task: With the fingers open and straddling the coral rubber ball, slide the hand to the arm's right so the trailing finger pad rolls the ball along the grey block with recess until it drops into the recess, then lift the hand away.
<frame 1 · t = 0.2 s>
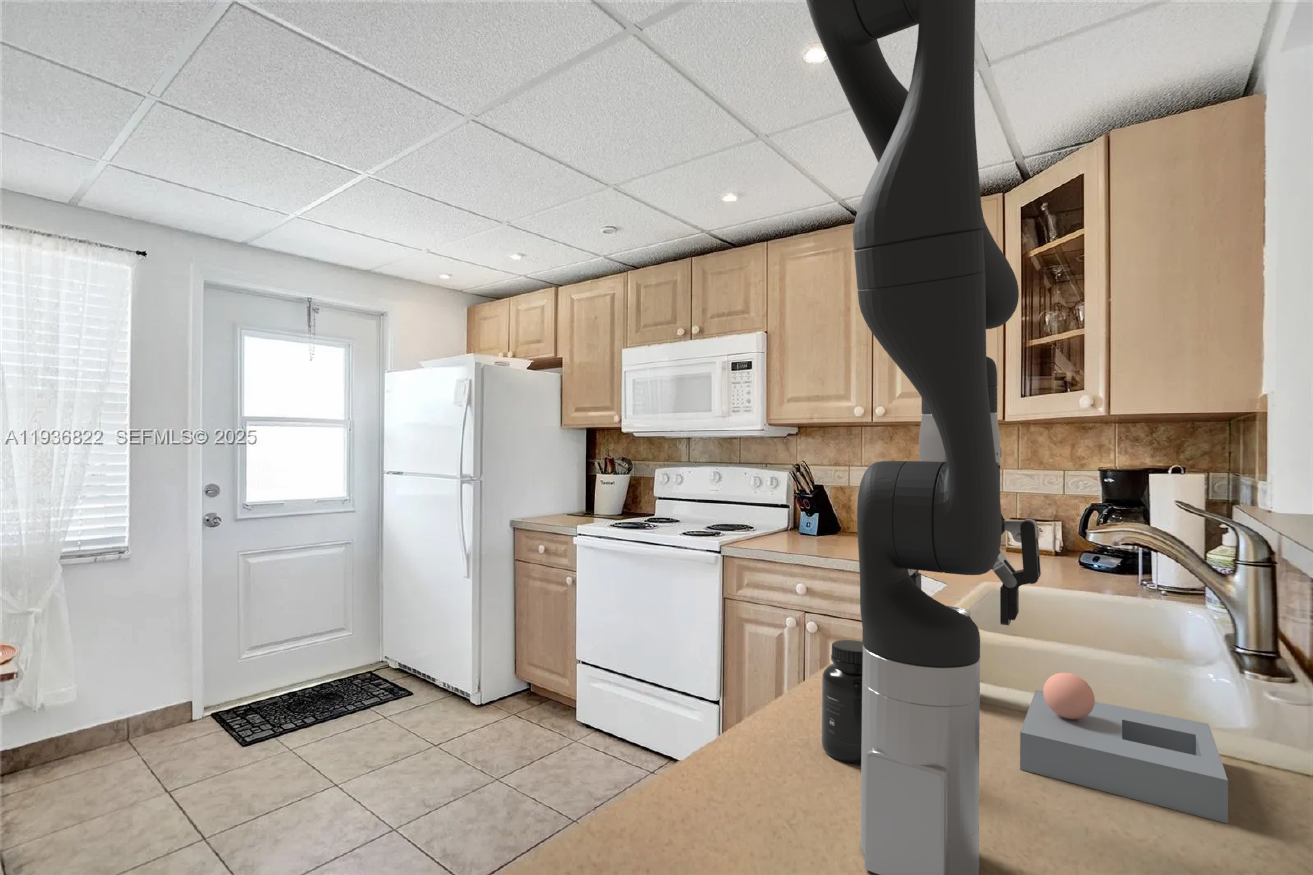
hand: (959, 616, 66), 17 cm above the table, tool pointing down, fingers open, 8 cm apart
soda can: (948, 696, 92), on the table
supplement bottle: (852, 753, 74), on the table
ball: (1068, 695, 75), point 6 cm above the table, touching grey block with recess
grey block with recess: (1116, 764, 72), on the table
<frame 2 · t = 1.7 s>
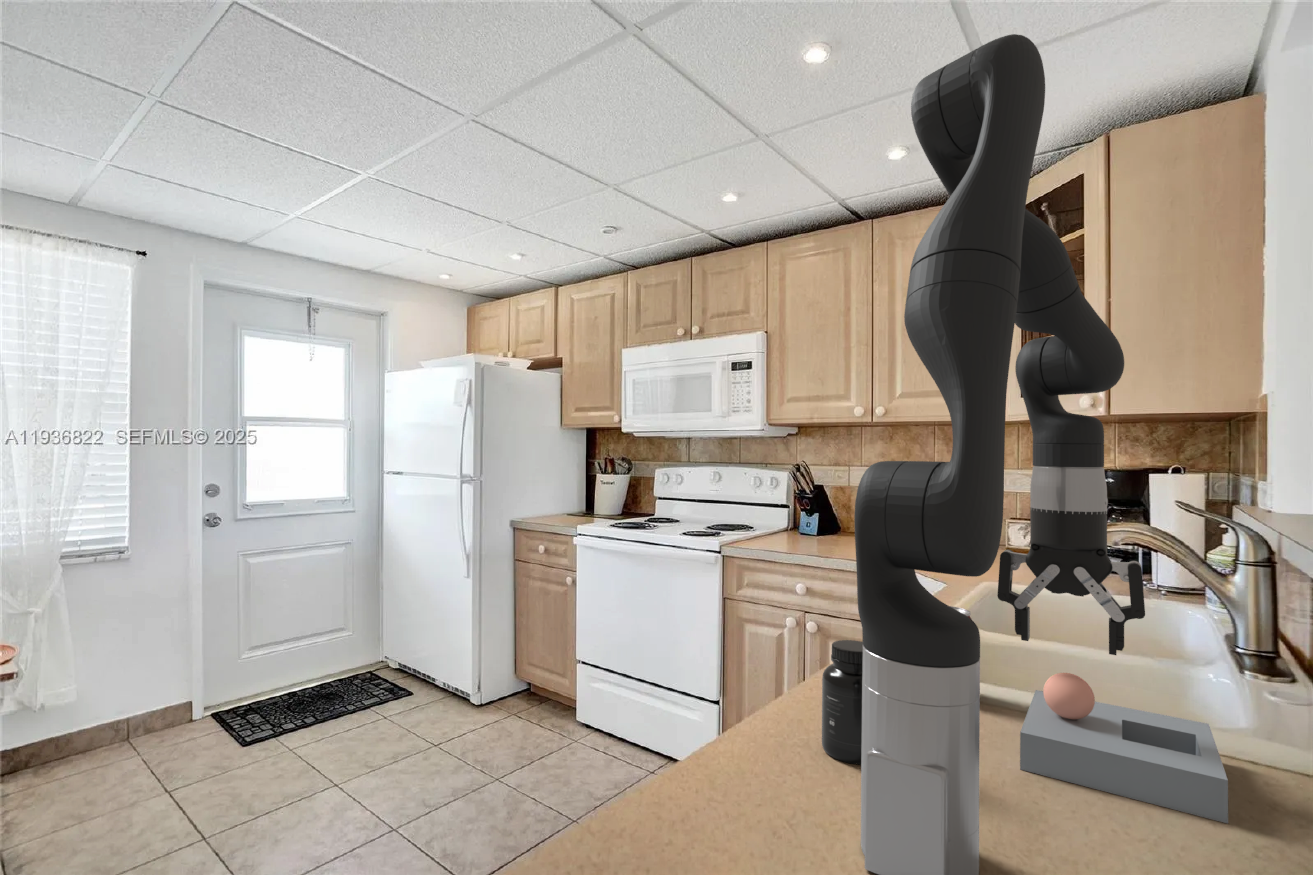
hand: (1067, 646, 75), 12 cm above the table, tool pointing down, fingers open, 8 cm apart
nothing on the table moved.
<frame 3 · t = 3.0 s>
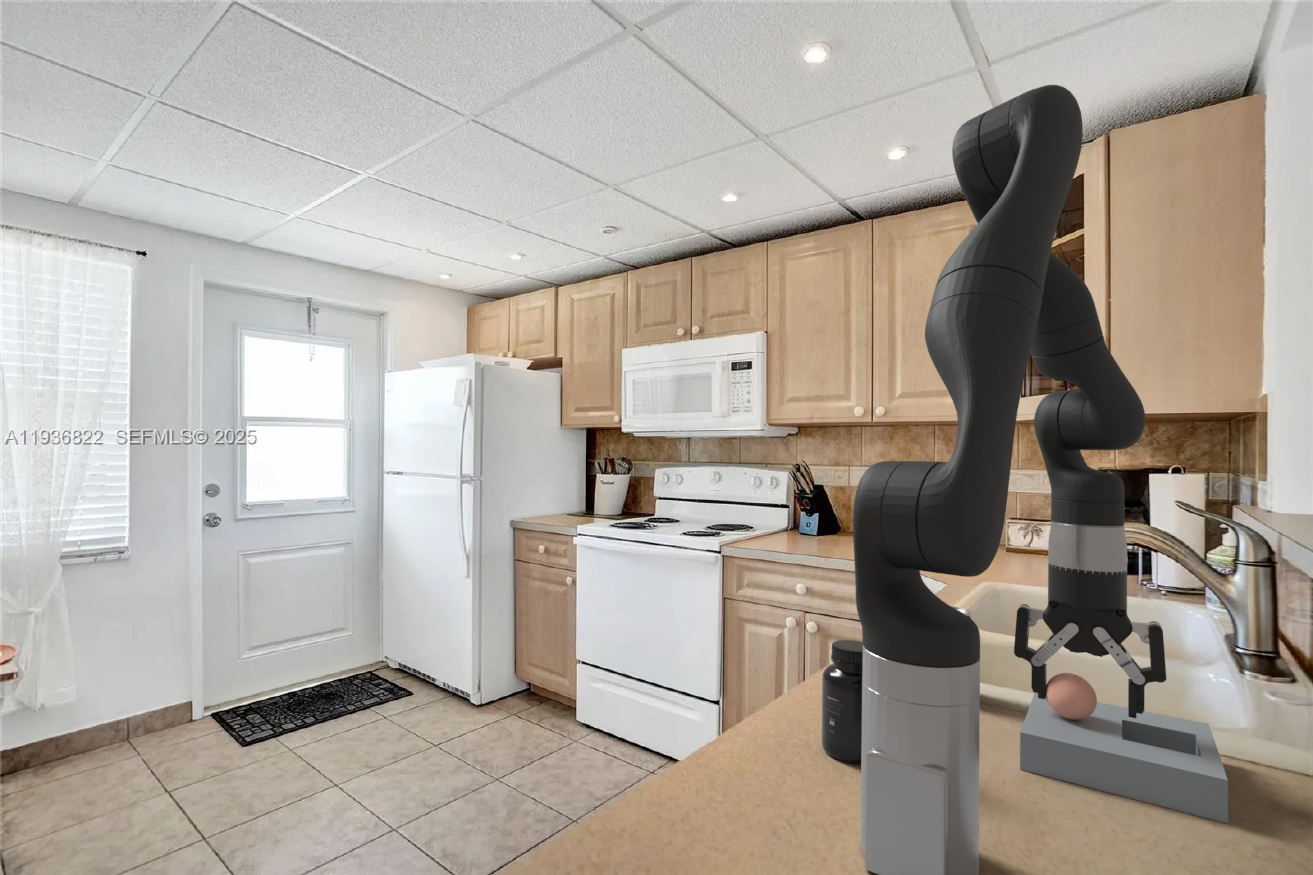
hand: (1086, 706, 74), 6 cm above the table, tool pointing down, fingers open, 8 cm apart
ball: (1070, 696, 74), point 6 cm above the table, touching grey block with recess, gripper
everything else where it was.
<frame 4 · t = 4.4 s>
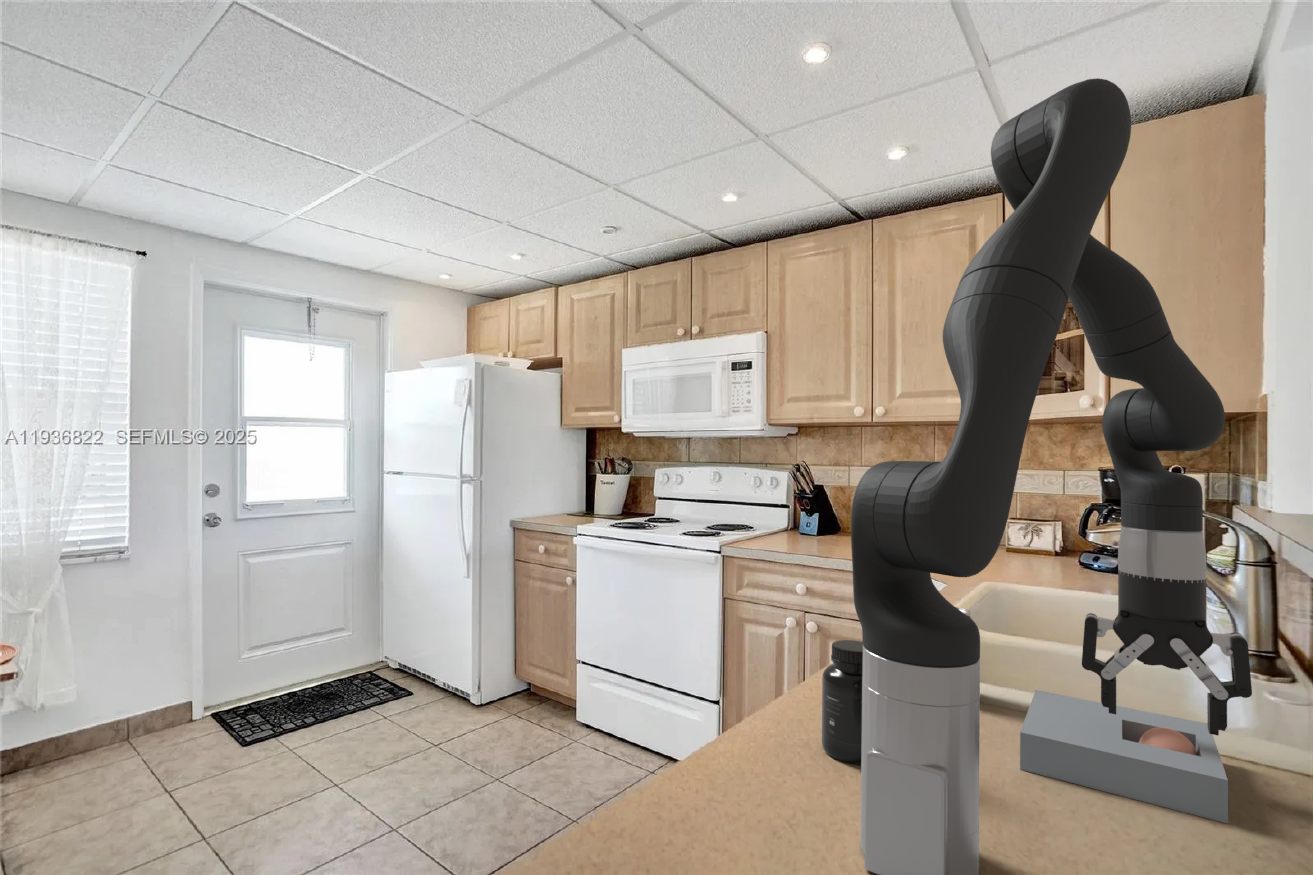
hand: (1161, 721, 70), 6 cm above the table, tool pointing down, fingers open, 8 cm apart
ball: (1167, 752, 69), point 2 cm above the table, tilted 131°
everything else where it was.
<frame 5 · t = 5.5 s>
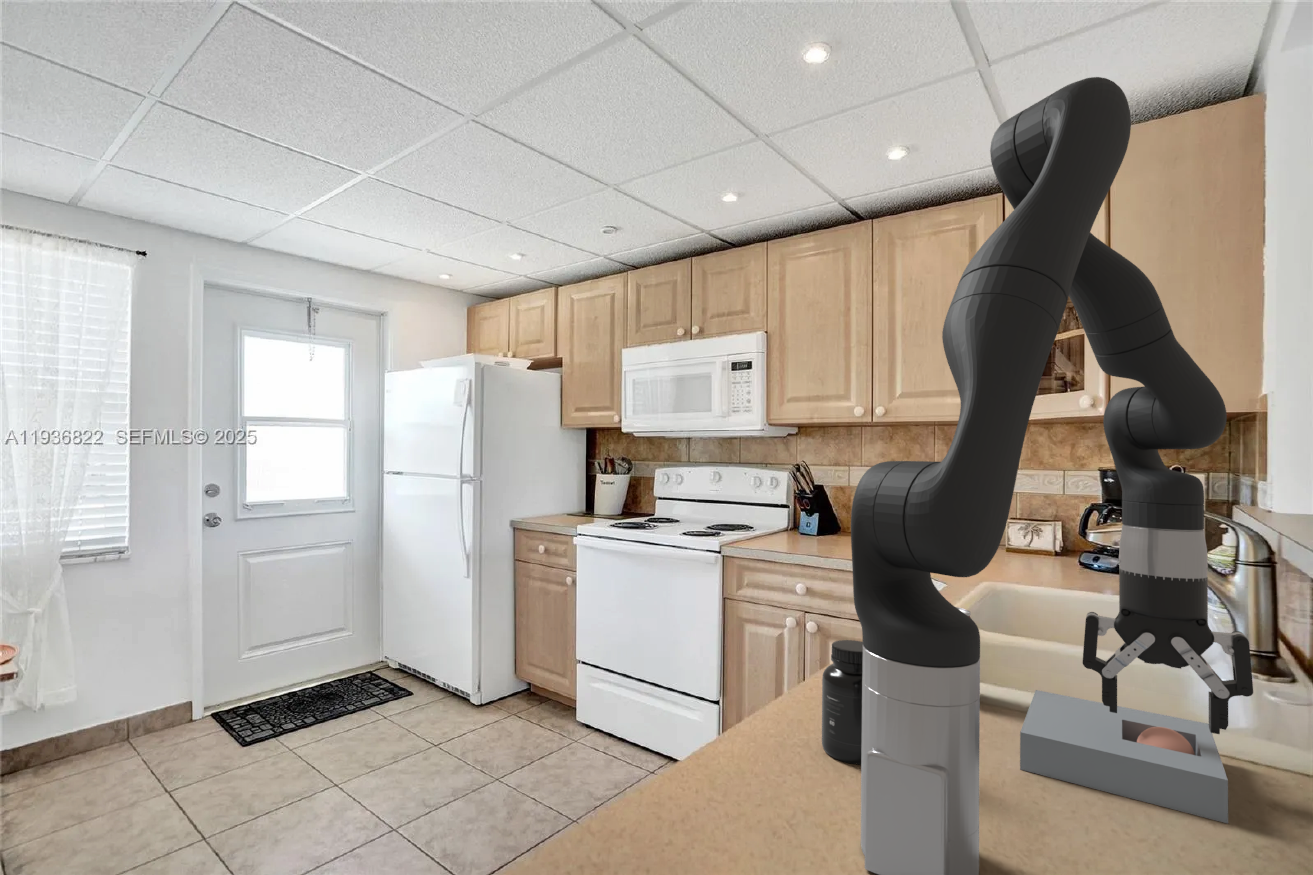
hand: (1162, 720, 70), 6 cm above the table, tool pointing down, fingers open, 8 cm apart
nothing on the table moved.
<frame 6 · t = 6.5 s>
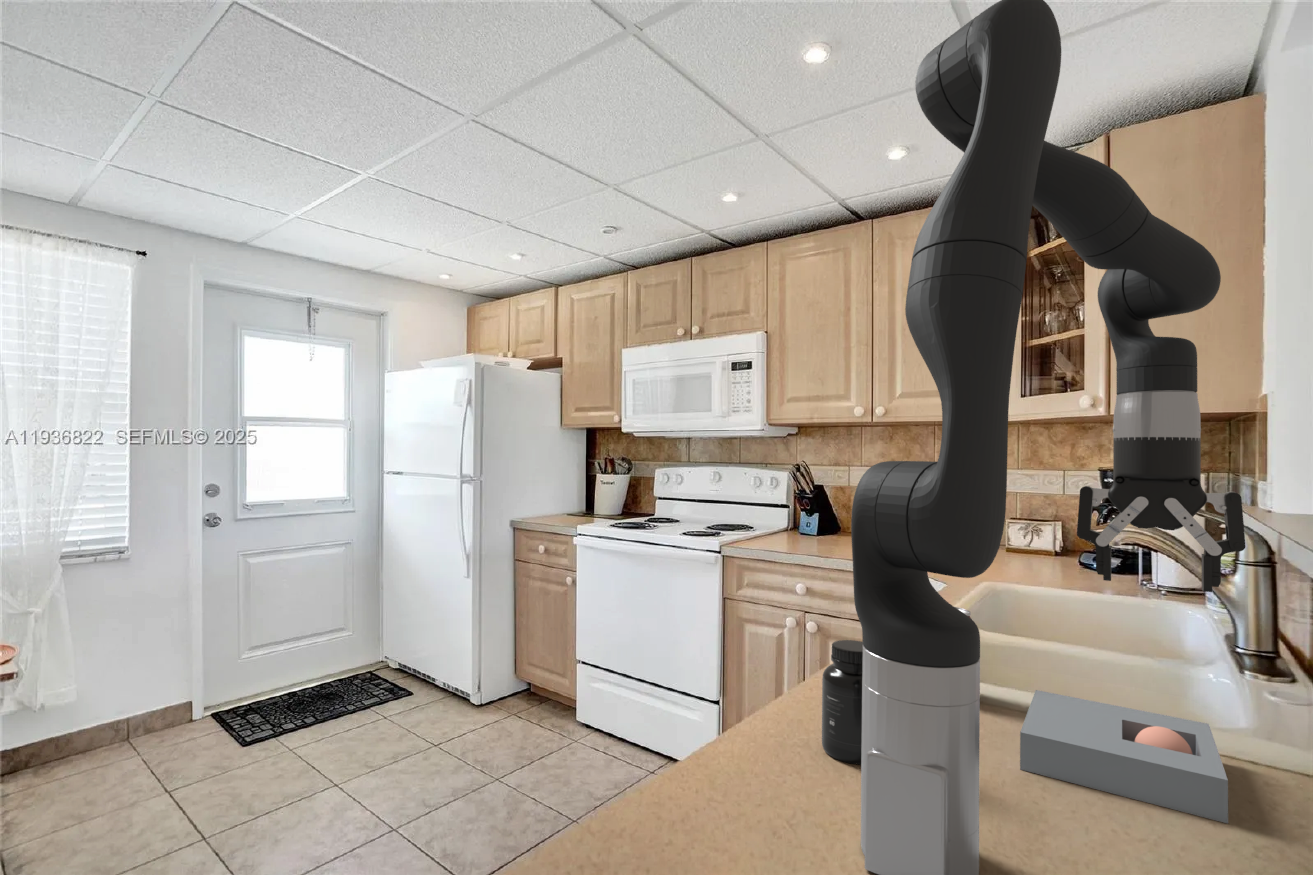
hand: (1155, 585, 70), 20 cm above the table, tool pointing down, fingers open, 8 cm apart
nothing on the table moved.
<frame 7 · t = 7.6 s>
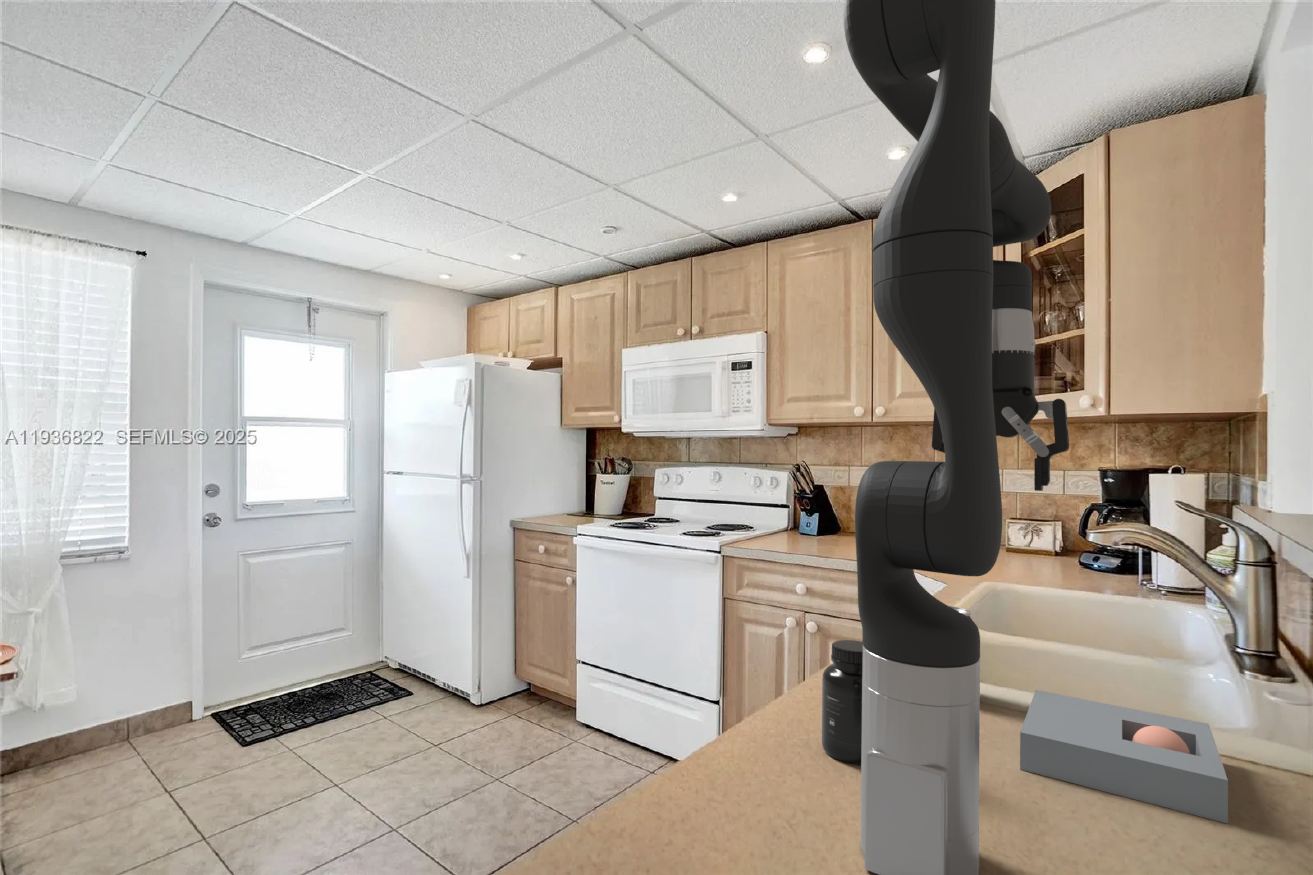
hand: (997, 488, 77), 30 cm above the table, tool pointing down, fingers open, 8 cm apart
nothing on the table moved.
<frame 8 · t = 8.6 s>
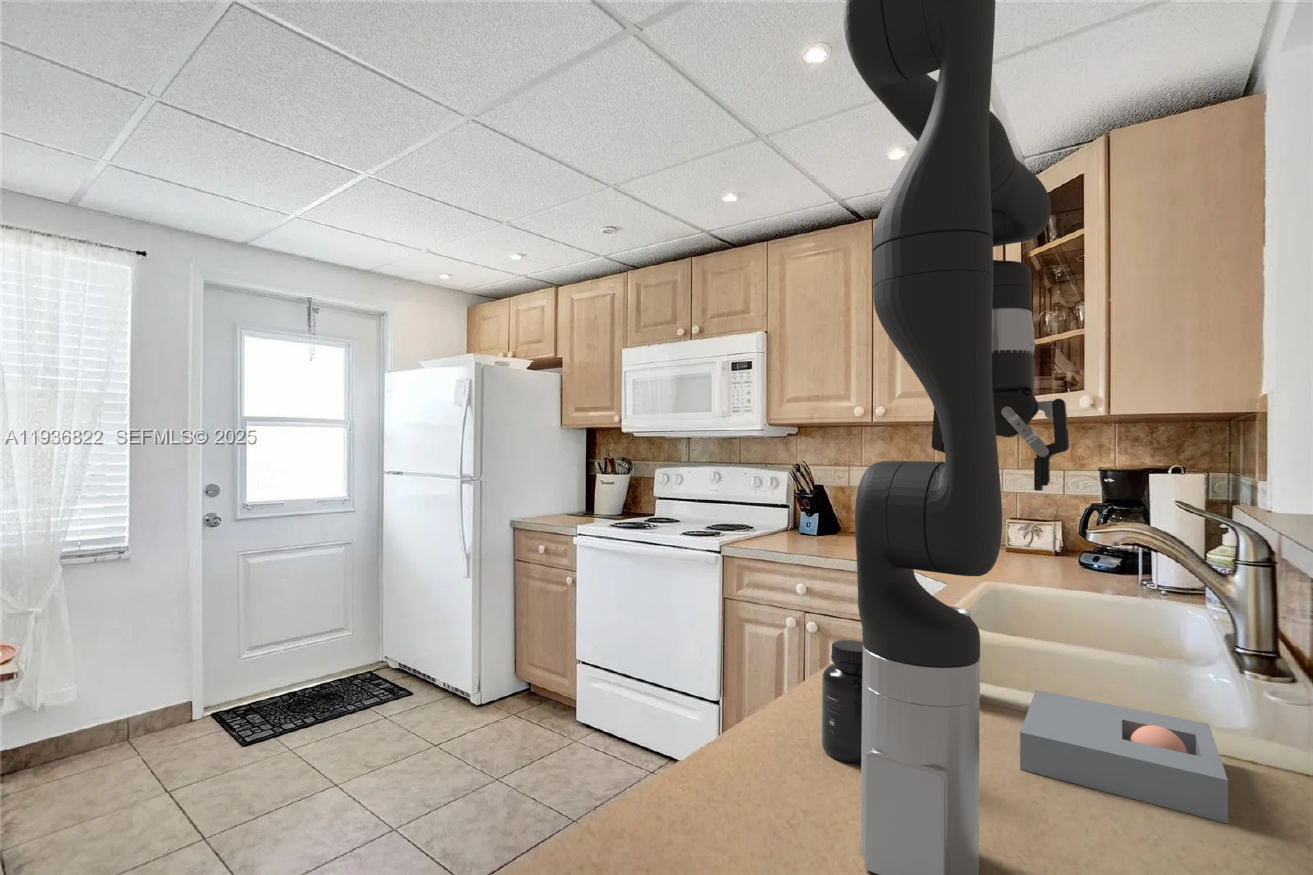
hand: (997, 488, 77), 30 cm above the table, tool pointing down, fingers open, 8 cm apart
nothing on the table moved.
at the end: ball 0.1 cm from the target spot on the grey block with recess, point 2.5 cm above the grey block with recess's base; ball point 2.5 cm above the table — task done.
